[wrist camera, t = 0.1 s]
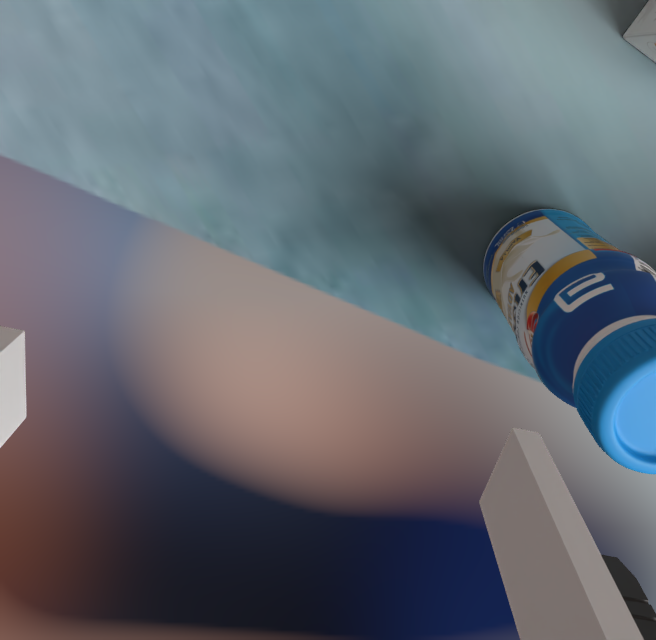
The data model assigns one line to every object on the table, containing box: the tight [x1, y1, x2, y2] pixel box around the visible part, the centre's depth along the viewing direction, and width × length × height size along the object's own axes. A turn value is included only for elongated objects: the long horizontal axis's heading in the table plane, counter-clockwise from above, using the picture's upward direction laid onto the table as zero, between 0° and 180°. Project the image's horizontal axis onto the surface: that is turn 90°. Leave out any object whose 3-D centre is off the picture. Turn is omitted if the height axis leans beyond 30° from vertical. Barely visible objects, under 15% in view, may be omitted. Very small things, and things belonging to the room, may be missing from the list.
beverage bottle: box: [483, 209, 656, 474], centre depth 33 cm, size 8×8×20 cm
